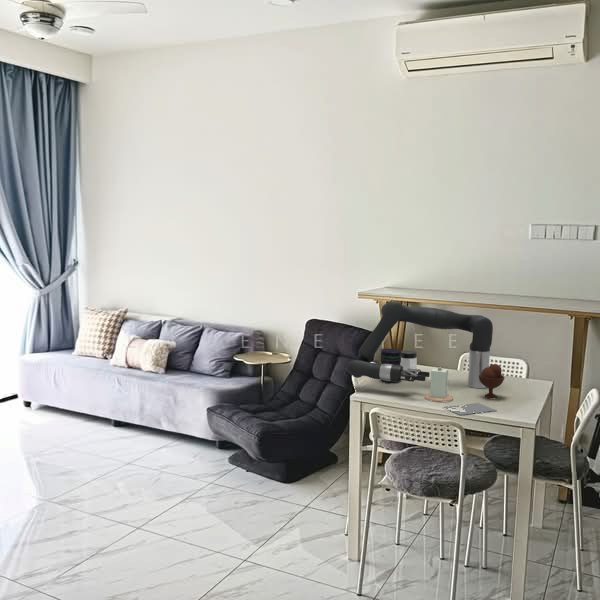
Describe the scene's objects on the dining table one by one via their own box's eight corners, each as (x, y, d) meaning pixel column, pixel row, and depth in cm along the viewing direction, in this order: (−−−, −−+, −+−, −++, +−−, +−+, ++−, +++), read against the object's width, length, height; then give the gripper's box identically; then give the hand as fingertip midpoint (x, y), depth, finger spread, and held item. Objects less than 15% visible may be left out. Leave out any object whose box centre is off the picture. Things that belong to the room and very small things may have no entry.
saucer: (442, 393, 303) (442, 391, 303) (458, 400, 292) (458, 398, 292) (419, 396, 299) (419, 394, 298) (435, 403, 288) (435, 400, 287)
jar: (406, 378, 332) (407, 354, 330) (395, 375, 339) (396, 351, 337) (419, 376, 337) (420, 352, 335) (408, 372, 343) (409, 349, 342)
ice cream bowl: (496, 393, 305) (497, 360, 303) (507, 400, 294) (509, 366, 292) (473, 394, 303) (475, 361, 301) (484, 400, 292) (486, 366, 291)
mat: (478, 403, 288) (478, 402, 288) (496, 411, 277) (496, 410, 277) (442, 407, 281) (442, 406, 281) (460, 415, 270) (460, 414, 270)
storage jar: (382, 377, 332) (383, 347, 330) (402, 379, 329) (403, 349, 327) (377, 382, 323) (378, 351, 321) (397, 384, 319) (398, 353, 318)
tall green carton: (433, 393, 299) (434, 365, 298) (447, 395, 297) (448, 366, 295) (430, 397, 294) (431, 368, 292) (444, 398, 291) (445, 369, 290)
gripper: (387, 367, 295) (424, 371, 289) (395, 361, 308) (431, 365, 302) (386, 384, 296) (423, 388, 290) (394, 377, 309) (430, 381, 303)
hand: (427, 376), depth 296 cm, fingers open, 8 cm apart
